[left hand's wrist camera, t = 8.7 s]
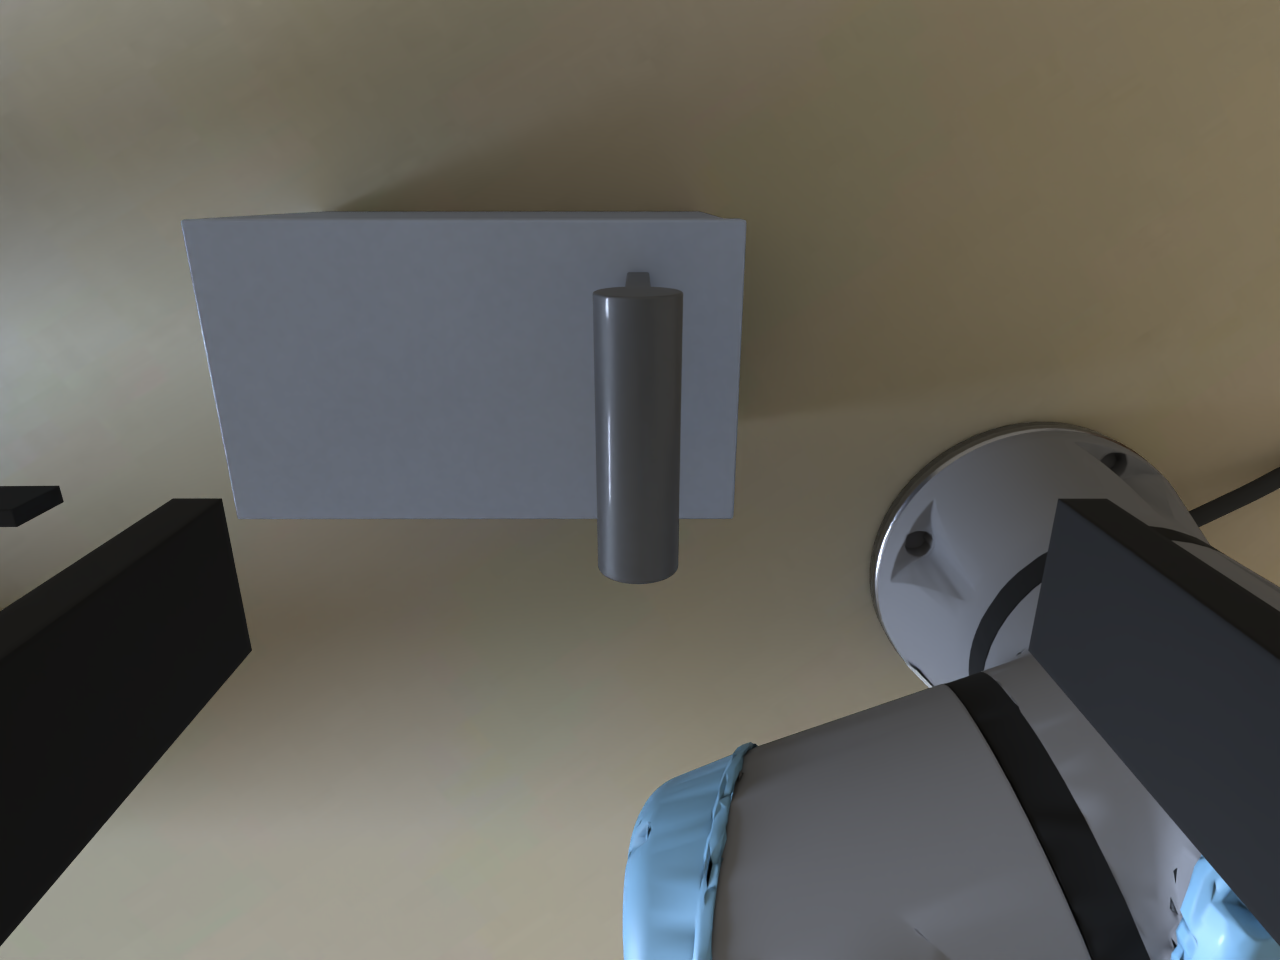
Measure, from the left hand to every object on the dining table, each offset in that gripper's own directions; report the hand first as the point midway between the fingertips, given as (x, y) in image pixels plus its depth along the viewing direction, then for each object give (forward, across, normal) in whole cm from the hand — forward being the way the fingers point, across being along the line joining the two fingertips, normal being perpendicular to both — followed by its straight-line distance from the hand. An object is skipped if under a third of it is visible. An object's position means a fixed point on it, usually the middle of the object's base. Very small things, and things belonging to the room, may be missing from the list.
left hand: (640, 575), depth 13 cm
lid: (+15, -5, 0) cm, 16 cm away
